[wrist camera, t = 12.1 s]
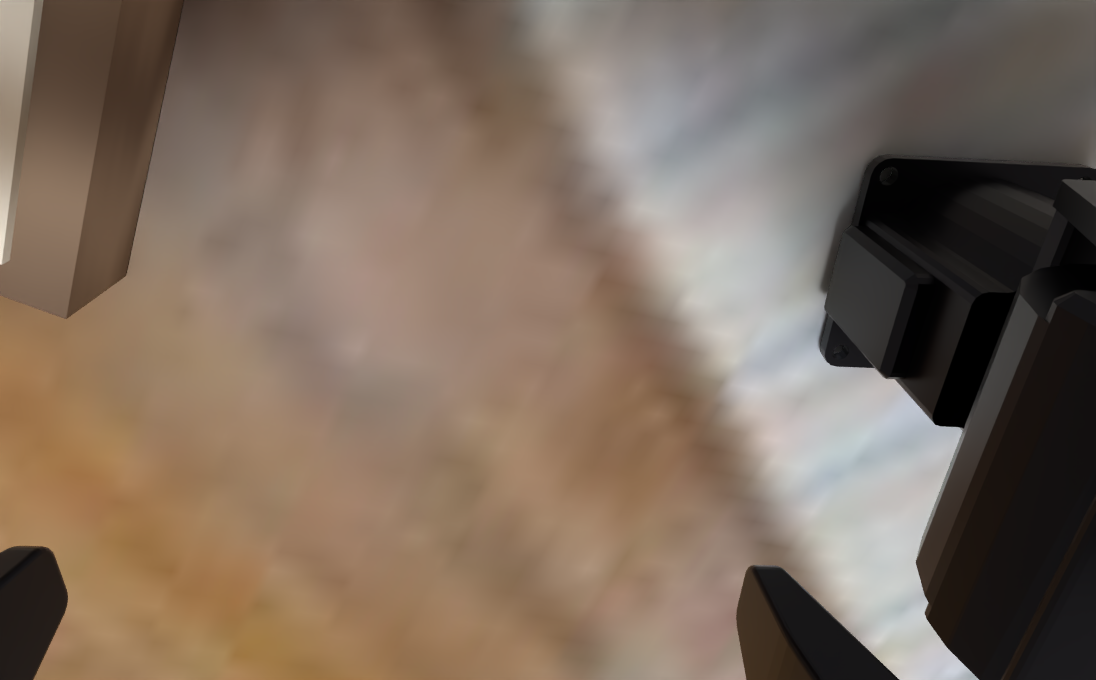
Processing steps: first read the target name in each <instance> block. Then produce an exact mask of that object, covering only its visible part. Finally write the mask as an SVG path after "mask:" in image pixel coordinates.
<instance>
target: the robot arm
mask: <svg viewBox="0 0 1096 680" xmlns="http://www.w3.org/2000/svg"><path fill="white" fill-rule="evenodd" d="M888 167H891V168H892V173H891V175H890V177H889V178H888V179H887V180H885V181H882V182H880V174H881V172H882V171H883V170H884V169H886V168H888ZM1080 178H1083V180H1079V179H1080ZM824 308H825V310H826V312H827V313H828V318H827V322H826V326H825V330H824V334H823V338H822V342H821V345H820V352H821V354H822V356H823V357H824V359H825V360H826V361H827V362H828V363H829V364H830V365H833V366H839V367H865V368H876V370H877V371H878V372H879V373H880V374H881V375H882V376H883V377H884V378H886V379H895V380H896V381H897V382H898V383H899V384H900V386H901V387H902V388H903V389H904V390H905V391H906V392H907V393H908V395H909V396H910V397H911V398H912V399H913V400H914V401H915V402H916V404H917V405H918V406H919V407H920V408H921V409H922V410H923V411H924V412H925V414H926V415H927V416H928V417H929V418H930V419H931V420H932V421H933V423H934V424H935V425H938V426H946V427H960V428H961V430H962V431H963V432H962V435H961V437H960V440H959V443H958V445H957V448H956V450H955V453H954V456H953V458H952V461H951V463H950V466H949V469H948V471H947V474H946V476H945V479H944V482H943V484H942V487H941V490H940V492H939V495H938V497H937V500H936V503H935V505H934V508H933V510H932V513H931V516H930V518H929V521H928V523H927V526H926V529H925V531H924V534H923V536H922V540H921V544H920V548H919V552H918V556H917V560H916V565H917V568H918V572H919V576H920V579H921V583H922V587H923V591H924V594H925V597H926V598H927V600H928V602H929V603H928V606H927V608H926V611H925V615H926V618H927V620H928V622H929V623H930V624H931V626H932V627H933V629H934V630H935V631H936V633H937V634H938V636H939V637H940V638H941V640H942V641H943V643H944V644H945V645H946V647H947V648H948V649H949V650H950V651H951V652H952V653H953V654H954V655H955V656H956V657H957V658H958V659H959V660H960V661H961V662H962V663H963V664H964V665H965V666H966V667H967V668H968V669H969V670H970V671H971V672H972V673H973V674H974V675H975V676H976V677H977V678H978V679H979V680H1096V169H1093V168H1090V167H1087V166H1084V165H1081V164H1062V163H1042V162H1022V161H1002V160H982V159H962V158H942V157H922V156H902V155H882V156H879V157H877V158H875V159H873V160H872V161H871V163H870V164H869V165H868V166H867V169H866V171H865V174H864V178H863V182H862V185H861V189H860V193H859V197H858V201H857V205H856V209H855V213H854V217H853V221H852V224H851V226H850V227H849V228H848V229H847V230H846V231H844V232H843V234H842V238H841V242H840V246H839V250H838V254H837V258H836V262H835V266H834V270H833V274H832V278H831V282H830V286H829V290H828V294H827V298H826V302H825V306H824ZM840 345H844V348H843V349H842V351H840V352H839V353H835V354H834V353H833V351H834V349H835V348H836V347H837V346H840ZM67 602H68V593H67V589H66V586H65V584H64V581H63V578H62V575H61V572H60V570H59V567H58V564H57V561H56V558H55V556H54V554H53V552H52V551H51V550H50V549H49V548H46V547H42V546H15V547H11V548H8V549H6V550H4V551H3V552H1V553H0V680H33V679H34V677H35V675H36V673H37V671H38V669H39V667H40V664H41V662H42V660H43V658H44V656H45V654H46V652H47V650H48V647H49V645H50V643H51V641H52V639H53V637H54V635H55V633H56V630H57V628H58V626H59V624H60V622H61V620H62V618H63V616H64V613H65V611H66V607H67ZM736 620H737V629H738V635H739V641H740V646H741V652H742V657H743V663H744V668H745V674H746V680H899V679H898V678H897V677H896V676H895V675H894V674H893V673H892V672H891V671H889V670H888V669H887V668H886V667H885V666H884V665H883V664H882V663H881V662H880V661H879V660H878V659H877V658H876V657H875V656H874V655H873V654H872V653H871V652H870V651H869V650H868V649H867V648H865V647H864V646H863V645H862V644H861V643H860V642H859V641H858V640H857V639H856V638H855V637H854V636H853V635H852V634H851V633H850V632H849V631H848V630H847V629H846V628H845V627H844V626H843V625H842V624H840V623H839V622H838V621H837V620H836V619H835V618H834V617H833V616H832V615H831V614H830V613H829V612H828V611H827V610H826V609H825V608H824V607H823V606H822V605H821V604H820V603H819V602H818V601H816V600H815V599H814V598H813V597H812V596H811V595H810V594H809V593H808V592H807V591H806V590H805V589H804V588H803V587H802V586H801V585H800V584H799V583H798V582H797V581H796V580H795V579H794V578H792V577H791V576H790V575H789V574H788V573H787V572H786V571H785V570H784V569H783V568H781V567H779V566H771V565H752V566H750V567H749V568H748V569H747V571H746V574H745V578H744V582H743V586H742V590H741V594H740V598H739V602H738V607H737V614H736Z"/></svg>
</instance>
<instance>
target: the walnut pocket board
mask: <svg viewBox="0 0 1096 680" xmlns="http://www.w3.org/2000/svg"><path fill="white" fill-rule="evenodd" d="M183 1H184V0H0V296H3V297H6V298H9V299H11V300H14V301H17V302H20V303H23V304H25V305H28V306H31V307H34V308H37V309H39V310H42V311H45V312H48V313H50V314H53V315H56V316H59V317H62V318H64V319H67V318H68V317H70V316H71V315H72V314H74V313H75V312H77V311H78V310H79V309H81V308H82V307H84V306H85V305H86V304H88V303H89V302H90V301H92V300H93V299H95V298H96V297H97V296H99V295H100V294H102V293H103V292H104V291H106V290H107V289H108V288H110V287H111V286H113V285H114V284H115V283H117V282H118V281H119V280H121V279H122V278H124V277H125V276H126V272H127V267H128V263H129V258H130V253H131V248H132V244H133V239H134V234H135V229H136V225H137V220H138V215H139V210H140V205H141V201H142V196H143V191H144V186H145V182H146V177H147V172H148V167H149V163H150V158H151V153H152V148H153V144H154V139H155V134H156V129H157V125H158V120H159V115H160V110H161V106H162V101H163V96H164V91H165V87H166V82H167V77H168V72H169V67H170V63H171V58H172V53H173V48H174V44H175V39H176V34H177V29H178V25H179V20H180V15H181V10H182V6H183Z"/></svg>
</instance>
